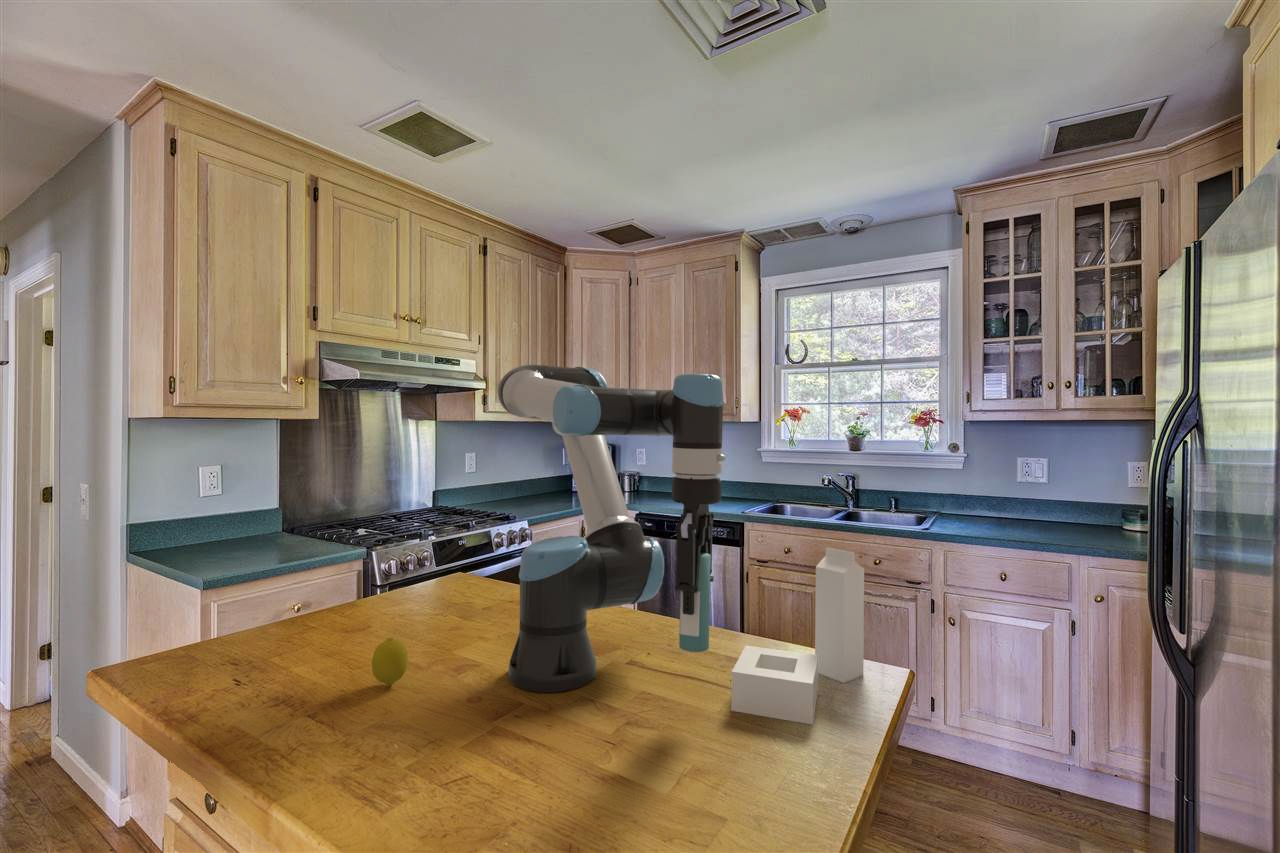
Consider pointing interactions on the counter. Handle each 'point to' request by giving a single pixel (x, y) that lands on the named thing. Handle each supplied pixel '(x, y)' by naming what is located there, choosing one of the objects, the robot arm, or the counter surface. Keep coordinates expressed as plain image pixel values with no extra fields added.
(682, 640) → the peg
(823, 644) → the milk
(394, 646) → the lemon
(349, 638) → the counter surface
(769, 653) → the socket
